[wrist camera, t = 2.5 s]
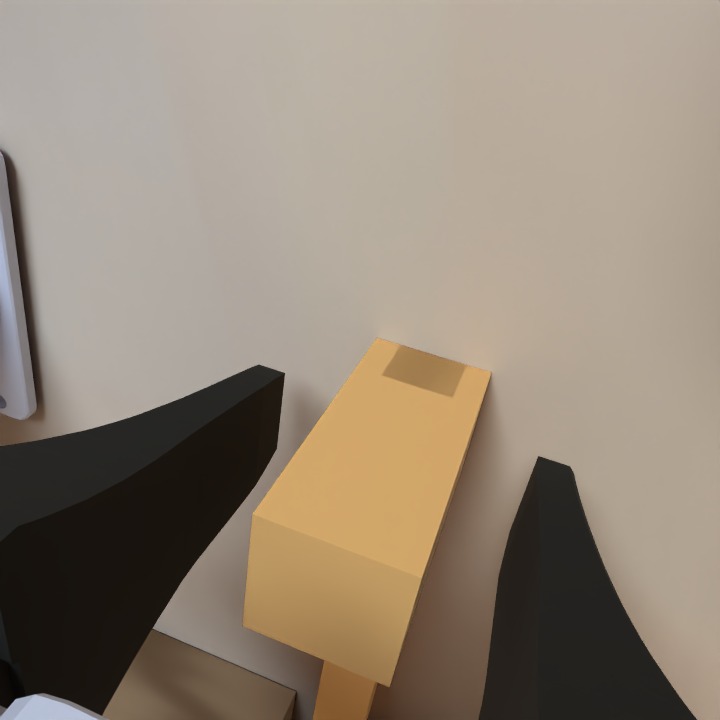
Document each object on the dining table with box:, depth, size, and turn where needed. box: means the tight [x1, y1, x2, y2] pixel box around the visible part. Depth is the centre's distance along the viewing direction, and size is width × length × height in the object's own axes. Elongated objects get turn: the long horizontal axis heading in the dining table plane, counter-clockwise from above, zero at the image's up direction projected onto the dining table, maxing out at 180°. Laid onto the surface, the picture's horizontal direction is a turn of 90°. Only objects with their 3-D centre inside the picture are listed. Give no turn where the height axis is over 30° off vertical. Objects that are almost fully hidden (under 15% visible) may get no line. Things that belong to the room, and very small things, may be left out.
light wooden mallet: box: [242, 338, 491, 720], centre depth 15 cm, size 3×13×6 cm, turn 171°
